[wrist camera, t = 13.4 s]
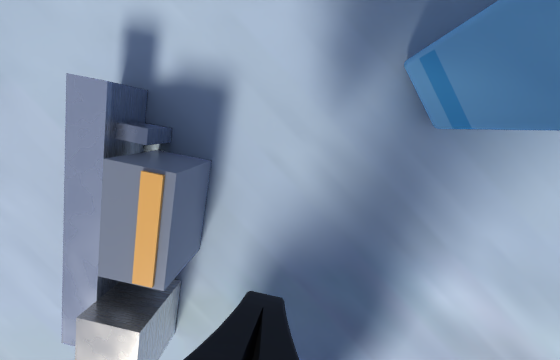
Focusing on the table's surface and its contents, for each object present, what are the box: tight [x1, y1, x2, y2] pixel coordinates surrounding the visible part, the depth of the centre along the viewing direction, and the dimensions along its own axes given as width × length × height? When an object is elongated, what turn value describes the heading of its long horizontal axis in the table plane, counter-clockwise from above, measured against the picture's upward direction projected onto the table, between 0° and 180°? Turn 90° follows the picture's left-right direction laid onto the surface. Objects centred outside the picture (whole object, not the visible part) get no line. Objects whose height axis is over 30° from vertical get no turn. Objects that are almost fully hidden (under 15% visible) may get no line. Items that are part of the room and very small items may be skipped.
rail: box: [61, 73, 181, 360], centre depth 18 cm, size 19×6×6 cm, turn 169°
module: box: [98, 150, 211, 291], centre depth 17 cm, size 7×4×6 cm, turn 170°
